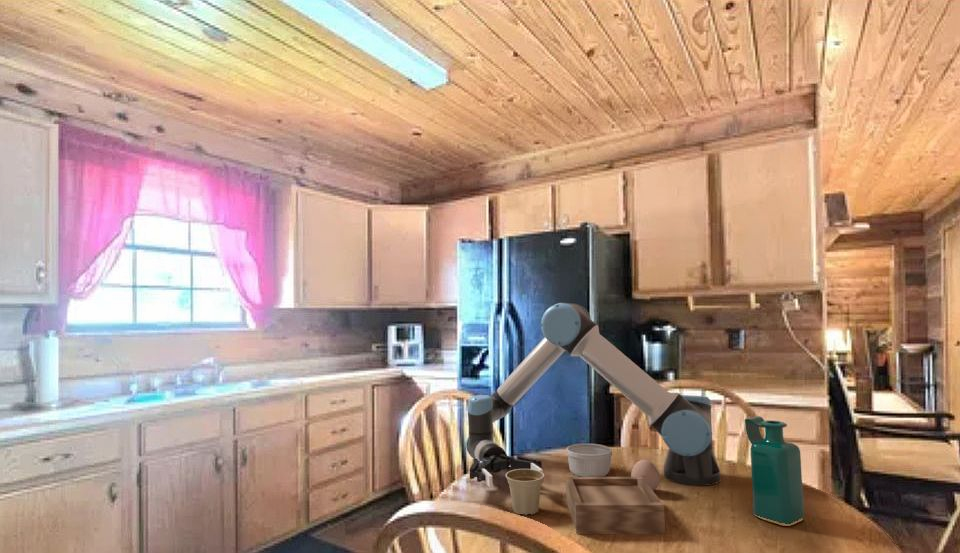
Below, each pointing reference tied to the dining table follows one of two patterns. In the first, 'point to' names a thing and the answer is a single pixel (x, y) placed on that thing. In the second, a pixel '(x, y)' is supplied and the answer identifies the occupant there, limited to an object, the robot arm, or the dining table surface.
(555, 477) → the dining table surface
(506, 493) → the dining table surface
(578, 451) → the ramekin
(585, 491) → the walnut open box
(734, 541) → the dining table surface
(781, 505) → the teal bottle with handle
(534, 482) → the flower pot
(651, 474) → the egg
